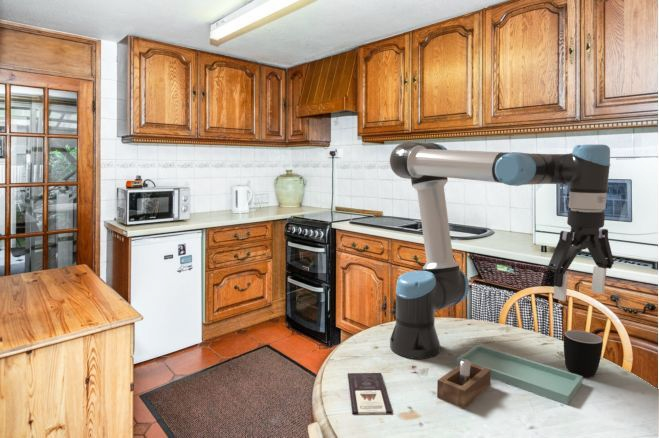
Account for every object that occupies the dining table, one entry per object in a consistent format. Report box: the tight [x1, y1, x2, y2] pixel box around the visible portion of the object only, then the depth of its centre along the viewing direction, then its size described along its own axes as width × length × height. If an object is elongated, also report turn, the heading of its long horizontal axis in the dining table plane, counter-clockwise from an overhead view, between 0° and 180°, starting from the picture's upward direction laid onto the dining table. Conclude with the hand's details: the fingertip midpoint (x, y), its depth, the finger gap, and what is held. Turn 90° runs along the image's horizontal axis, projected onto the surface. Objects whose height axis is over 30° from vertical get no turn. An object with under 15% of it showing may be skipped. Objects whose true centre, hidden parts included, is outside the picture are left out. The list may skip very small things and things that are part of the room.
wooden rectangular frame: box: [436, 363, 491, 410], centre depth 102 cm, size 7×16×4 cm, turn 135°
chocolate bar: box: [347, 372, 393, 415], centre depth 102 cm, size 9×1×18 cm
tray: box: [456, 343, 584, 406], centre depth 110 cm, size 28×13×2 cm, turn 45°
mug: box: [563, 329, 604, 378], centre depth 112 cm, size 12×9×10 cm
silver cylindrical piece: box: [459, 359, 470, 386], centre depth 101 cm, size 3×3×8 cm
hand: (578, 296), depth 100 cm, fingers open, 13 cm apart
